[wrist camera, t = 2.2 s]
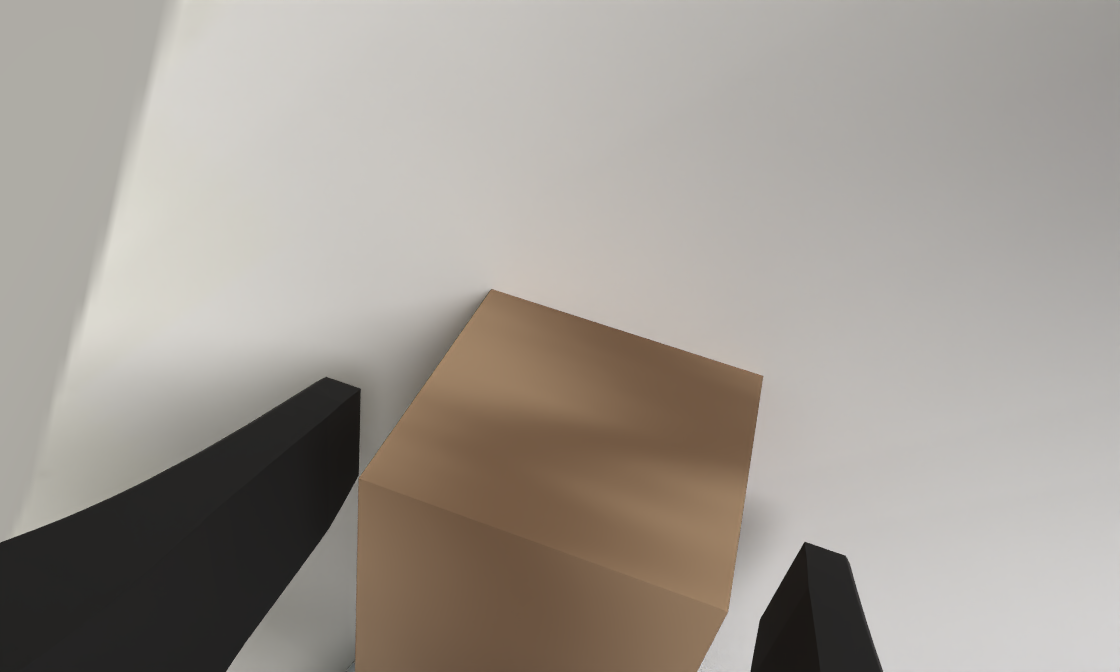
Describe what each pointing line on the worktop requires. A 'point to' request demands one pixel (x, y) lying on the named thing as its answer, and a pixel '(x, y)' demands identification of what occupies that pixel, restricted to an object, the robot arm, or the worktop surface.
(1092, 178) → the worktop surface
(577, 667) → the walnut block
